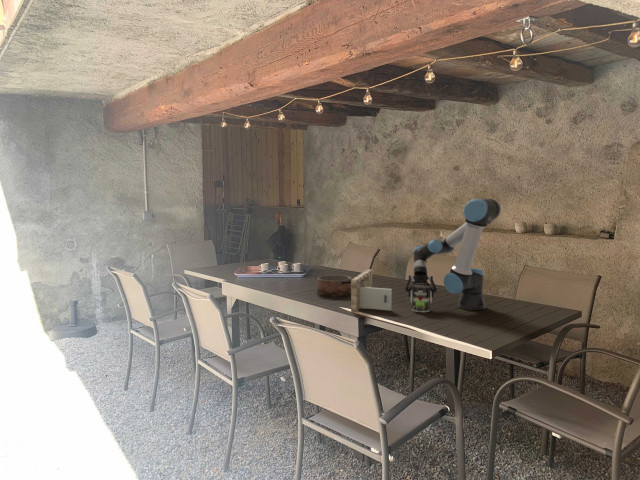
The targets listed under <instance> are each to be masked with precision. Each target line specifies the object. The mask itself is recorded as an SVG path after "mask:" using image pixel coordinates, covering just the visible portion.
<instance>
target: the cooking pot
mask: <svg viewBox="0 0 640 480" xmlns="http://www.w3.org/2000/svg"><path fill="white" fill-rule="evenodd" d="M315 277H316V282H317V285H316V289H317V292H316V293H317V295H319V296H322V297H327V298H328V297H329V298H342V297H348V296H351V280H352V277H351V276H348V275H343V274H320V275H316V276H315Z"/></svg>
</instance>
